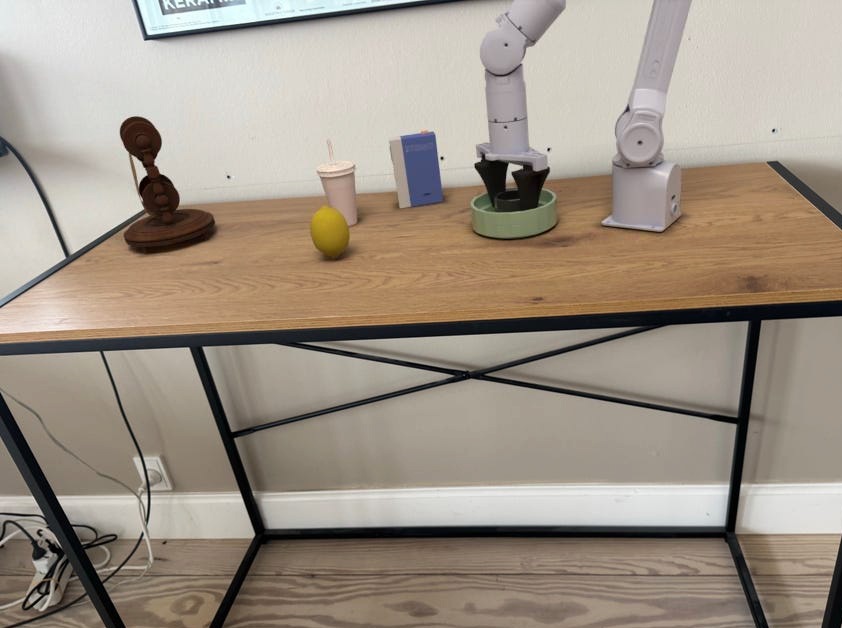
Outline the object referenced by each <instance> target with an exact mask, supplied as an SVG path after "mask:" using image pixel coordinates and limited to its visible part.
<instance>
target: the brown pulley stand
mask: <svg viewBox="0 0 842 628" xmlns="http://www.w3.org/2000/svg"><path fill="white" fill-rule="evenodd" d="M119 137H120V140H121V142H122V144H123V147H124V149H125V150H126V151H127V153H128V158H129V163H130V169H131V174H132V177H133V181H134V185H135V189H136V192H137V195H138V197H139V200H140V203H141V205H142V207H143V209H144V211H145V212H146V213H147V215H149V216H146V217H143V218H141V219H139V220H137V221H135V222H134V223H132V224H131V225H130V226H129V227H128V228H127V229H126V230H125V231H124V233H122V234H123V238H124V241H125V244H126V245H128V246H131V247H135V248H141V250H142V251H143V252H144V253H145V254H146V255H149V254H150V248H151V247H160V246H166V245H167V246H168V245H171V244H176V243H180V242H185V241H187V240H191V239H194V238H196V237H199V236H200V237H201V238H202V239H203V240H204V241H207V240H208V231H210V230H212V229H213V228H214V227H215V225H216V220H215V216H214V214H213V213H211V212H209V211H205V210H202V209H197V208H181V209H180V208H179V205H180V201H181V198H180V193H179V191H178V189H177V188H176V186H175V184H174V183H173V181H172V180H171V179H170V178H169V177H168V176H167V175H165V174H163V173H160V170H159V167H158V166H157V165H155V163H156V161H155V160H156V159H157V157H158V155H159V153H160V151H161V150H162V145H163V140H162V136H161V134H160V132H159V130H158V129H157V127H156V126H155V125H154V124H153V122H151V120H149V119H147V118H145V117H143V116H138V115H135V116H129V117H127V118H126V119H125V120H123V122H122V123H121V125H120V126H119ZM133 157H135V158H136V159H137V160H138V161H139V162H140V163H141V164H142V168H144V171H146V175H145V176H143V177H142V179H141V180H140V181H138V176H137V175H138V174H137V170H136V167H135V163H134V159H133ZM178 208H179V209H178Z"/></svg>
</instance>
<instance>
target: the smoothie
mask: <svg viewBox="0 0 842 628" xmlns="http://www.w3.org/2000/svg"><path fill="white" fill-rule="evenodd" d="M326 143H327V149H328V152H329V158H330V162H327V163H324V164H321V165H319V166H317V167H316V169H315V170H316V175H317V176H318V177H319V179H320V182H321V185H322V188H323V191H324V193H325V197H326V200H327V204H328V207H329V208H333V209H336V210H338V211H339V212H340V213H341V214H342V215H343V216H344V218H345V220H346V222H347V225H348V227H351V226H353V225H356V224H357V223H358V210H357V193H356V192H357V190H356V175H355V174H356V173H355V171H356V170H357V168H356V163H355V162H354V161H351V160H338V161H335V157H334V153H333V147H332V141H331V138H328V139H326Z"/></svg>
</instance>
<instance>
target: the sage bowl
mask: <svg viewBox="0 0 842 628" xmlns="http://www.w3.org/2000/svg"><path fill="white" fill-rule="evenodd" d="M507 190H518V189H517V186H512V187H506V191H507ZM470 210H471V212H470V213H471V214H470V215H471V223H472V229H473V231H475V232H476V233H477V234H479V235H482V236H485V237H488V238H494V239H501V240H503V239H504V240H506V239H507V240H510V239H511V240H513V239H522V238H527V237H532V236H536V235H539V234H542V233H543V232H545V231H548V230H550V229H551V228H553V227H555V225H556V224H557V223H558V197H557V195H556V192H554V191H552V190H549V189H546V188H543V187H542V190H541V194H540V198H539V202H538V207H537V208H535V209H530V210H526V211H519V212H495V207H493V206H492V204H491V201H490V198H489V195H488V192H487V191H486V192H483V193H481V194H479V195H477V196H475V197H474V198H473V199H472V200H471V201H470Z"/></svg>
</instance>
